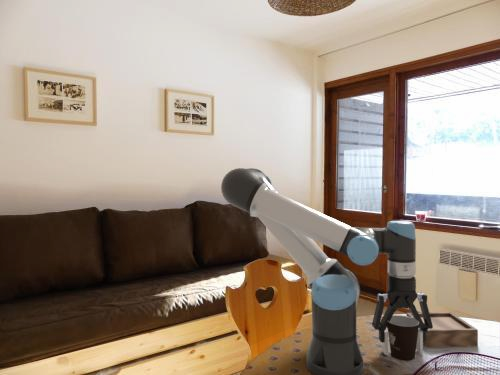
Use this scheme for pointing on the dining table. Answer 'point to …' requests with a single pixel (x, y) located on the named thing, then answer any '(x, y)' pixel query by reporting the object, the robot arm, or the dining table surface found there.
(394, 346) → the coffee mug
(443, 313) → the wooden tray
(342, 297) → the robot arm
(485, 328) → the dining table surface
